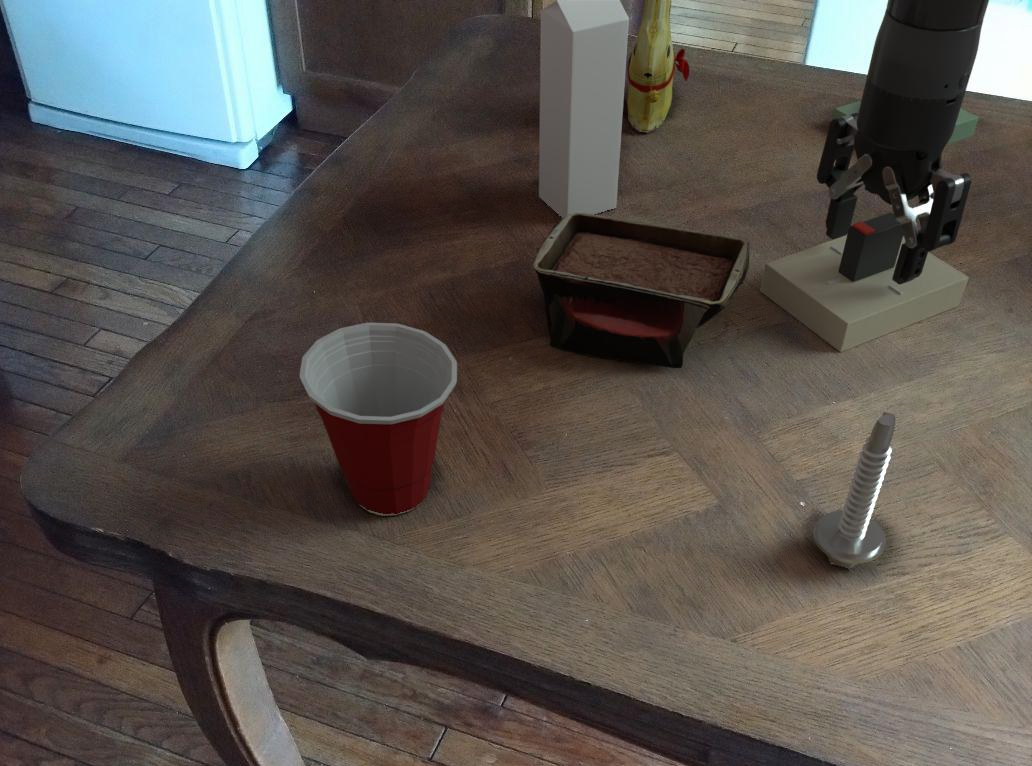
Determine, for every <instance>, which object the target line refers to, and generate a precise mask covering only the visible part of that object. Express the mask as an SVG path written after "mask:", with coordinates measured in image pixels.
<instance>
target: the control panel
mask: <svg viewBox="0 0 1032 766" xmlns="http://www.w3.org/2000/svg"><path fill="white" fill-rule="evenodd" d="M846 238H847V234H846V235H845V236H842V237H839V238H836V239H831V240H829V241H825V242H823V243H821V244H817V245H815V246H811V247H809V248H806V249H802V250H800V251H797V252H795V253H791V254H789V255H785V256H782V257H780V258H777V259H774V260H771V261H769V262H766V263H765V264H764V269H763V275H762V278H761V279H762V280H761V284H760V285H761V286H760V293H762V294H763V295H764V296H766V297H767V298H768V299H769V300H771V301H773V302H774V303H775V304H776V305H777V306H779V307H780V308H781V309H782V310H784V311H785V312H787V313H788V314H789V315H790V316H792V317H793V318H795V319H796V320H797V321H799V322H800V323H801V324H802V325H804V326H805V327H806V328H807V329H809V330H811V331H812V332H813V333H814V334H816V335H817V336H818V337H820V338H821V339H822V340H824V341H825V342H826V343H828V344H829V345H830V346H831V347H833V348H834V349H835V350H836V351H838V352H839V353H842V352H844V351H845V352H846V351H847V350H850V349H852V348H856V347H858V346H860V345H863V344H865V343H867V342H870V341H872V340H876V339H878V338H880V337H884V336H886V335H888V334H891V333H893V332H896V331H898V330H901V329H904V328H906V327H909V326H911V325H915V324H916V323H918V322H921V321H925V320H927V319H929V318H931V317H934V316H937V315H939V314H942V313H944V312H946V311H947V312H948V311H949V310H952V309H954V308H958V307H959V306H960V304H961V301H962V299H963V296H964V293H965V290H966V287H967V285H968V281H969V280H970V279H969V276H967V275H966V274H965V273H962V272H961V271H959V270H958V269H956V268H955V267H953V266H951V265H949V264H948V263H947V262H945V261H943V260H942V259H940V258H938V257H937V256H935V255H934V254H932V253H931V252H929V251H928V254H927V258H926V261H925V264H924V267H923V270H922V273H921V274H920V276H919V277H917V278H914V279H913V280H911V281H909V282H906V283H903V284H901V285H899V284H897V283H896V282H894V281H893V280H892V277H893V274H894V270H895V267H896V263H897V260H898V257H899V253H900V250H901V246H902V244H904V243H905V239H904V235H903V238H902V242H901V245H900V249H899V252H898V256H897V259H896V263H895V266H894V268H891V269H888V270H885V271H883V272H880V273H877V274H874V275H872V276H869V277H866V278H863V279H861V280H858V281H855V282H852V281H851V280H849V279H848V278H847V277H845V276H844V275H842V274H841V273H839V272H838V271H839V267H840V262H841V258H842V254H843V250H844V246H845V242H846Z"/></svg>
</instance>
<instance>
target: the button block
mask: <svg viewBox="0 0 1032 766" xmlns="http://www.w3.org/2000/svg"><path fill="white" fill-rule="evenodd" d="M860 104H861V100H858V101H854V102H851V103H848V104H845V105H841V106H837V107H835V108H834V110H833V114H832V118H831V121H832V120H833V119H836V118H840V117H843V116H846V115H850V114H853V113H859V109H860ZM979 119H980V117H979V116H978V115H976V114H973V113H971V112H970V111H967V110H965V109H963V108H962V107H961V108H960V111H959V115H958V118H957V121H956V125H955V128H954V131H953V134H952V136H951V138H950V140H949V141H948V143H947V144H946V146H947V145H949V144H953V143H957V142H959V141H962V140H965V139H968V138H971V137H974V134H975V132H976V128H977V125H978V122H979Z"/></svg>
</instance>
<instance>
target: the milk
mask: <svg viewBox="0 0 1032 766" xmlns="http://www.w3.org/2000/svg"><path fill="white" fill-rule="evenodd" d="M629 22H630V17H629V16H628V13H627V12H626V10H625V8H624V6H623V4H622V3H621V0H555V1H553V2H551V3H550V4H548V5H547V6H544V7H543V8H541V9H540V50H539V54H540V55H539V57H540V58H539V61H540V62H539V145H538V146H539V150H538V151H539V152H538V153H539V154H538V155H539V156H538V157H539V159H538V162H539V163H538V166H539V167H538V198H539V197H540V198H541V199H542V200H543V201H544V202H545V203H546V204H547V205H546V204H545V203H544V202H543V201H542V200H541V199H540V198H539V199H540V200H541V201H542V202H543V203H544V204H545V205H546V206H547V207H549V206H550V207H551V208H552V209H553V210H554V211H555V212H556V213H557V214H559V215H558V217H560V216H561V217H562V218H564V217H566V216H568V215H569V214H573V213H588V214H596V215H599V214H602V213H601V212H603V213H606V212H608V211H607V210H610V211H612V210H611V209H613V210H615V209H614V208H616V209H617V204H618V203H617V201H618V187H619V186H618V185H619V173H620V171H619V170H620V159H621V158H620V157H621V144H622V142H621V141H622V127H623V126H622V125H623V112H624V99H625V98H624V97H625V85H626V68H627V67H626V66H627V52H628V38H629V24H630V23H629ZM550 207H549V208H550ZM551 208H550V209H551ZM552 209H551V210H552ZM553 210H552V211H553ZM554 211H553V212H554ZM605 211H606V212H605ZM555 212H554V213H555ZM556 213H555V214H556ZM598 213H599V214H598ZM557 214H556V215H557ZM561 217H560V218H561ZM562 218H561V219H562Z"/></svg>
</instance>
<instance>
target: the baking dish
mask: <svg viewBox="0 0 1032 766" xmlns="http://www.w3.org/2000/svg"><path fill="white" fill-rule="evenodd" d="M750 247H751V246H750V242H749V241H748V239H747V238H745V237H740V236H732V235H727V234H722V233H721V234H720V233H714V232H713V233H712V232H708V231H700V230H694V229H686V228H680V227H676V226H673V227H672V226H668V225H663V224H657V223H652V222H644V221H640V220H630V219H625V218H621V217H613V216H607V215H600V214H596V215H594V214H588V213H573V214H569V215H568V216H566V217H564V218H563V219H562V218H561V219H560V220H559V221H558V222H557V223H555V224H554V225H553V226H552V229H551V230H550V231H549V233H548V235H547V236H545V238H543V240H542V241H541V244H540V246H539V247H537V248H536V255H535V257H534V259H533V262H532V269H534V271H535V273H536V276H537V279H538V282H539V285H540V290H541V293H542V297H543V302H544V304H543V305H544V309H545V318H546V322H547V329H548V336H549V347H552V348H555V349H557V350H561V351H566V352H570V353H575V354H581V355H585V356H590V357H595V358H603V359H609V360H616V361H623V362H629V363H635V364H639V365H640V364H642V365H647V366H648V365H649V366H656V367H662V368H663V367H664V368H671V369H682V368H683V366H684V353H685V352H686V350H687V348H688V346H689V344H690V342H691V340H692V338H693V336H694V335H695V332H696V330H697V329H698V328H700V327H702V325H704V324H706V323H707V322H709V321H710V320H712V319H713V318H715V317H716V316H717V315H719V314H720V313H721V312H722V311H723V310H725V308H727V307H728V306H729V305H730V304H731V302H732V300H733V298H734V296H735V294H736V293H737V291H738V289H739V288H740V286H742V285H743V284H744V282H745V280H746V278H747V277H746V276H747V274H748V271H749V267H750Z"/></svg>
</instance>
